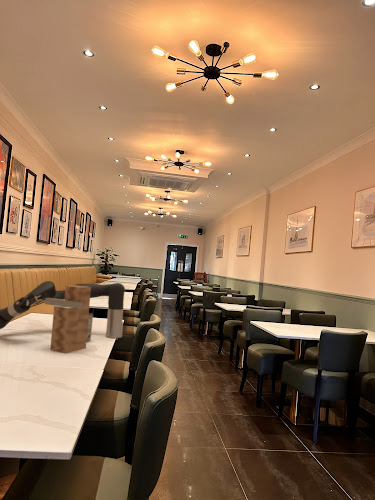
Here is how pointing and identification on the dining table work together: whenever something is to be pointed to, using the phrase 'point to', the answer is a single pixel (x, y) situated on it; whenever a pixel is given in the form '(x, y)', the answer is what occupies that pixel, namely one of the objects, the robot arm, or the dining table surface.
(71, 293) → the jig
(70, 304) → the bar
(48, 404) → the dining table surface
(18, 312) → the robot arm
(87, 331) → the coffee box
